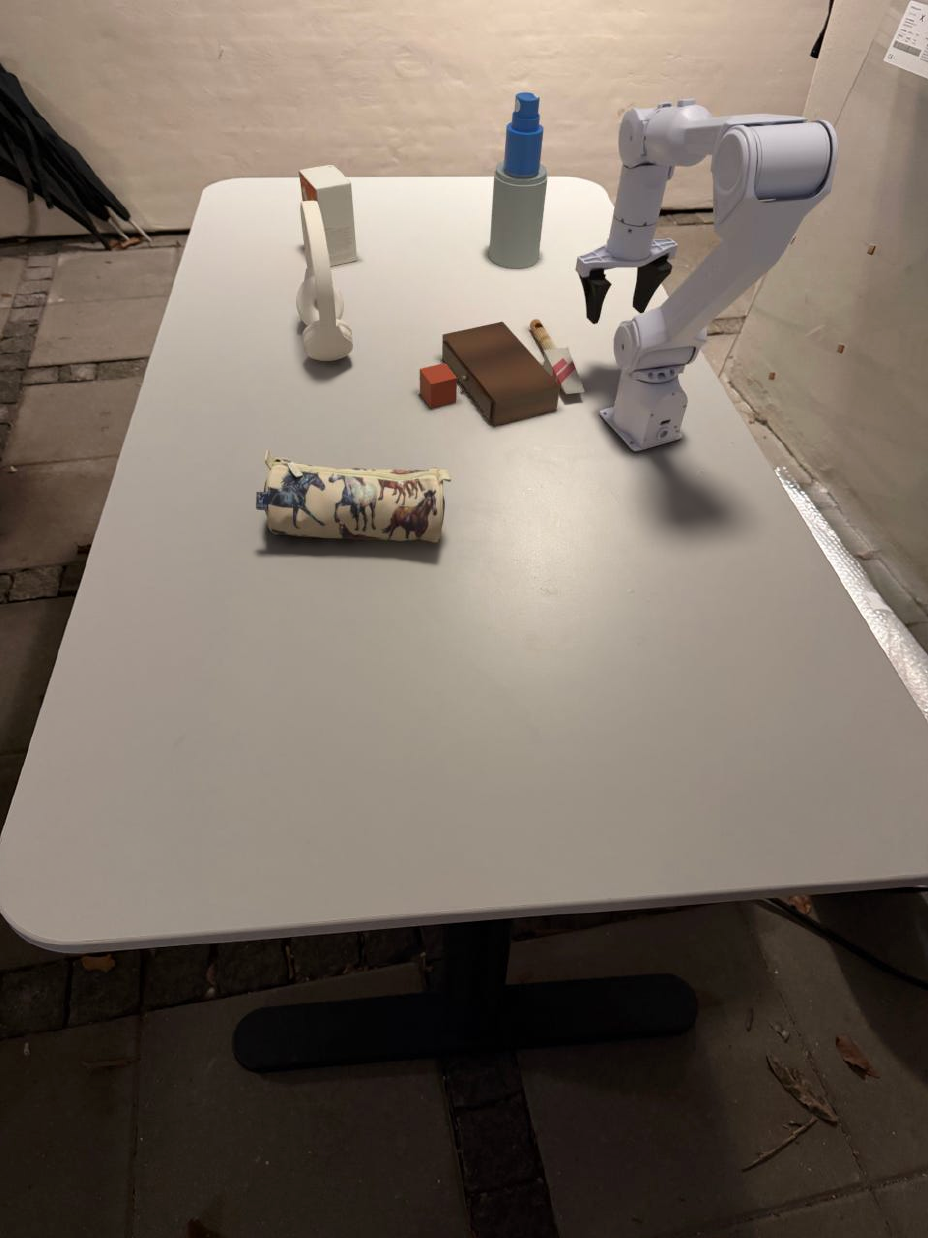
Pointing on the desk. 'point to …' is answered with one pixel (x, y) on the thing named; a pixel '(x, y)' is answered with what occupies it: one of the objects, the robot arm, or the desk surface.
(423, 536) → the pencil case
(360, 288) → the desk surface
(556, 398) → the cabinet
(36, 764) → the desk surface
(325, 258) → the headphones
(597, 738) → the desk surface
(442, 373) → the block
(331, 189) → the small box
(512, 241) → the spray bottle
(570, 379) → the paintbrush
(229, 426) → the desk surface
